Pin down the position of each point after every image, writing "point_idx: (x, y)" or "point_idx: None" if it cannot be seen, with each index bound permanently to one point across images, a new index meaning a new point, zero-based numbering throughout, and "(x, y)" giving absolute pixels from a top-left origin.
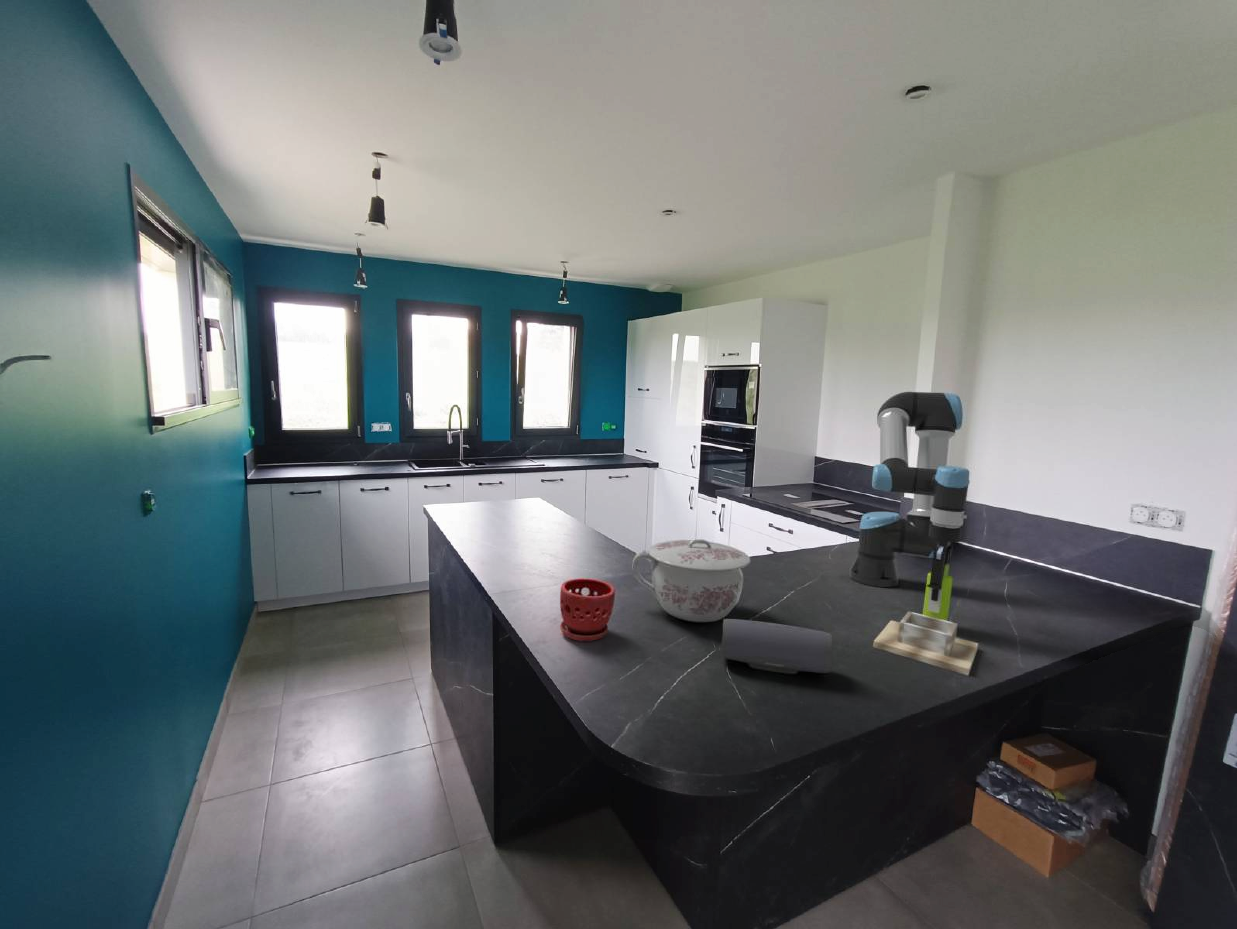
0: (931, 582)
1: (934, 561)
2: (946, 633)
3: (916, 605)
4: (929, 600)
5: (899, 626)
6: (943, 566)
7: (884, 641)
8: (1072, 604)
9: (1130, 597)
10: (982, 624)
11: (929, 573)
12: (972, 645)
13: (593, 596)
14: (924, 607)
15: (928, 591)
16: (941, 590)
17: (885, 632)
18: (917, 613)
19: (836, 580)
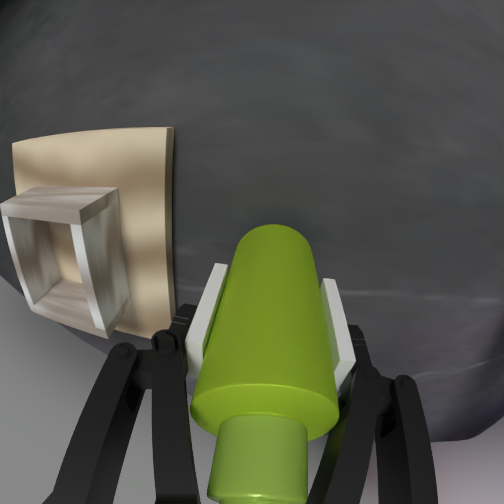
0: (105, 368)
1: (60, 483)
2: (33, 303)
3: (450, 205)
4: (204, 293)
5: (8, 200)
6: (115, 485)
7: (22, 161)
8: (483, 402)
9: (496, 417)
10: None
11: (268, 394)
12: (150, 332)
13: None
14: (252, 252)
15: (227, 311)
16: (188, 372)
17: (60, 145)
18: (82, 241)
19: (501, 3)
